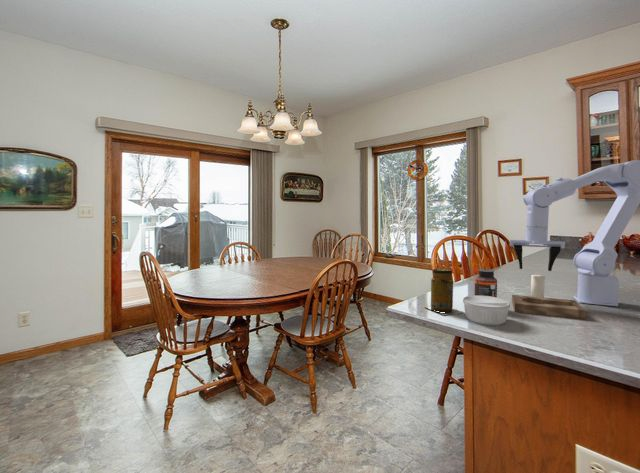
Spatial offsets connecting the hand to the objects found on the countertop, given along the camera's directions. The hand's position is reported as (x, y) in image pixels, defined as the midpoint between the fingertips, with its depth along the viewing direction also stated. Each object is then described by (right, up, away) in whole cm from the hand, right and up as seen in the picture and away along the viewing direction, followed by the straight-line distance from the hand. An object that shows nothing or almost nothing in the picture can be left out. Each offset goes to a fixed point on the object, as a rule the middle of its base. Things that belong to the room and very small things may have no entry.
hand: (535, 269), depth 104 cm
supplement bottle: (-19, -11, -6) cm, 23 cm away
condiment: (-33, -11, -9) cm, 36 cm away
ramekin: (-24, -12, -17) cm, 32 cm away
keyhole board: (-3, -11, -9) cm, 15 cm away
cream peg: (+1, -10, +1) cm, 10 cm away
